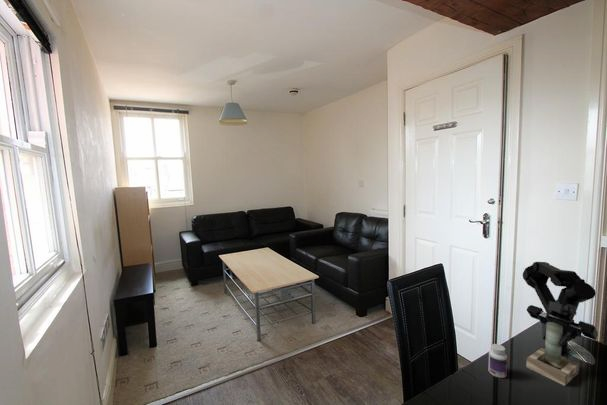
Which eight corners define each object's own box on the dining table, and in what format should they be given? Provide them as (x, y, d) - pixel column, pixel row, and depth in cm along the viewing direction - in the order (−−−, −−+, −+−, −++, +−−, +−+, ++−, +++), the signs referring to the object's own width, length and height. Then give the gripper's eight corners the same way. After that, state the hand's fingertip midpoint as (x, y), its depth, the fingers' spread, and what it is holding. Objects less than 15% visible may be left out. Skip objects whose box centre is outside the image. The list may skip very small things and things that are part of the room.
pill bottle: (509, 379, 101) (510, 352, 100) (492, 377, 102) (493, 351, 101) (502, 368, 106) (503, 343, 105) (485, 367, 108) (486, 341, 106)
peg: (547, 353, 107) (549, 320, 106) (562, 359, 103) (565, 326, 102) (542, 357, 105) (544, 324, 104) (557, 364, 101) (559, 330, 100)
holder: (540, 356, 112) (540, 348, 112) (578, 373, 103) (579, 363, 102) (526, 367, 107) (526, 358, 106) (564, 385, 97) (565, 376, 97)
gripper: (530, 284, 112) (514, 320, 107) (597, 302, 95) (581, 346, 91) (538, 298, 116) (523, 334, 112) (604, 318, 100) (589, 360, 96)
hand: (551, 342), depth 103 cm, fingers closed on peg, 4 cm apart
